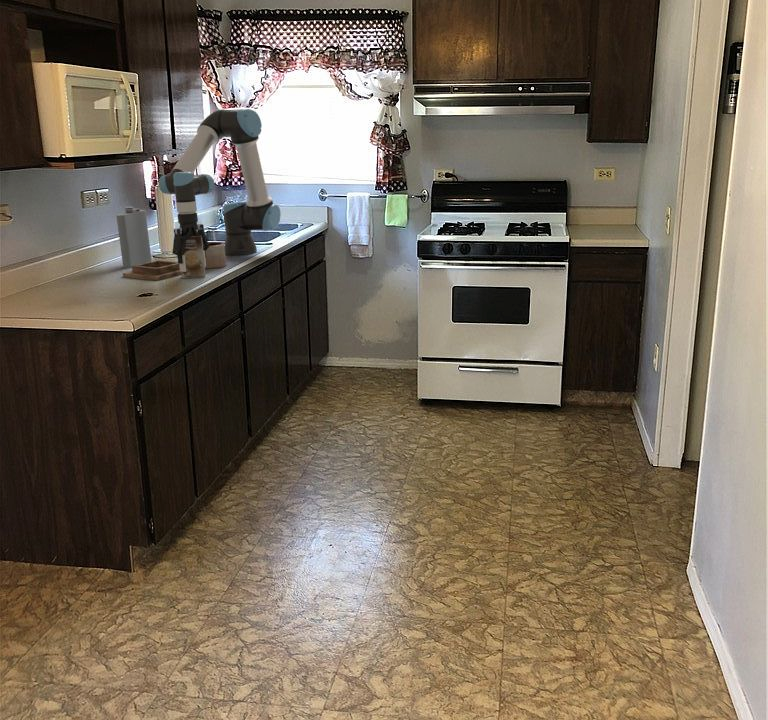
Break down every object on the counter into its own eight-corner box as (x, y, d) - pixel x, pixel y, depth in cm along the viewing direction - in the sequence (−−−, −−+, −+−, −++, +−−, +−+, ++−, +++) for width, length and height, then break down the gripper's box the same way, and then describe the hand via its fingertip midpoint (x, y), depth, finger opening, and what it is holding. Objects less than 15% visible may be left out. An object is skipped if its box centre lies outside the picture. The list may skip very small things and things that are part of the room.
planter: (220, 269, 332) (218, 246, 330) (195, 269, 335) (193, 246, 332) (230, 264, 343) (228, 241, 340) (206, 264, 345) (204, 242, 342)
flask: (144, 260, 359) (137, 204, 352) (153, 260, 358) (146, 204, 350) (120, 268, 344) (112, 209, 336) (129, 268, 342) (121, 209, 335)
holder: (160, 267, 340) (159, 258, 339) (194, 271, 330) (193, 261, 329) (122, 276, 324) (121, 267, 323) (157, 280, 314) (155, 270, 313)
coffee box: (181, 278, 316) (176, 238, 311) (183, 275, 322) (178, 235, 317) (205, 277, 317) (201, 236, 312) (206, 274, 323) (202, 234, 318)
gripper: (201, 208, 323) (206, 263, 329) (158, 216, 305) (165, 273, 311) (214, 209, 319) (220, 264, 325) (172, 216, 301) (178, 275, 307)
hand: (193, 269), depth 318 cm, fingers closed on coffee box, 10 cm apart
